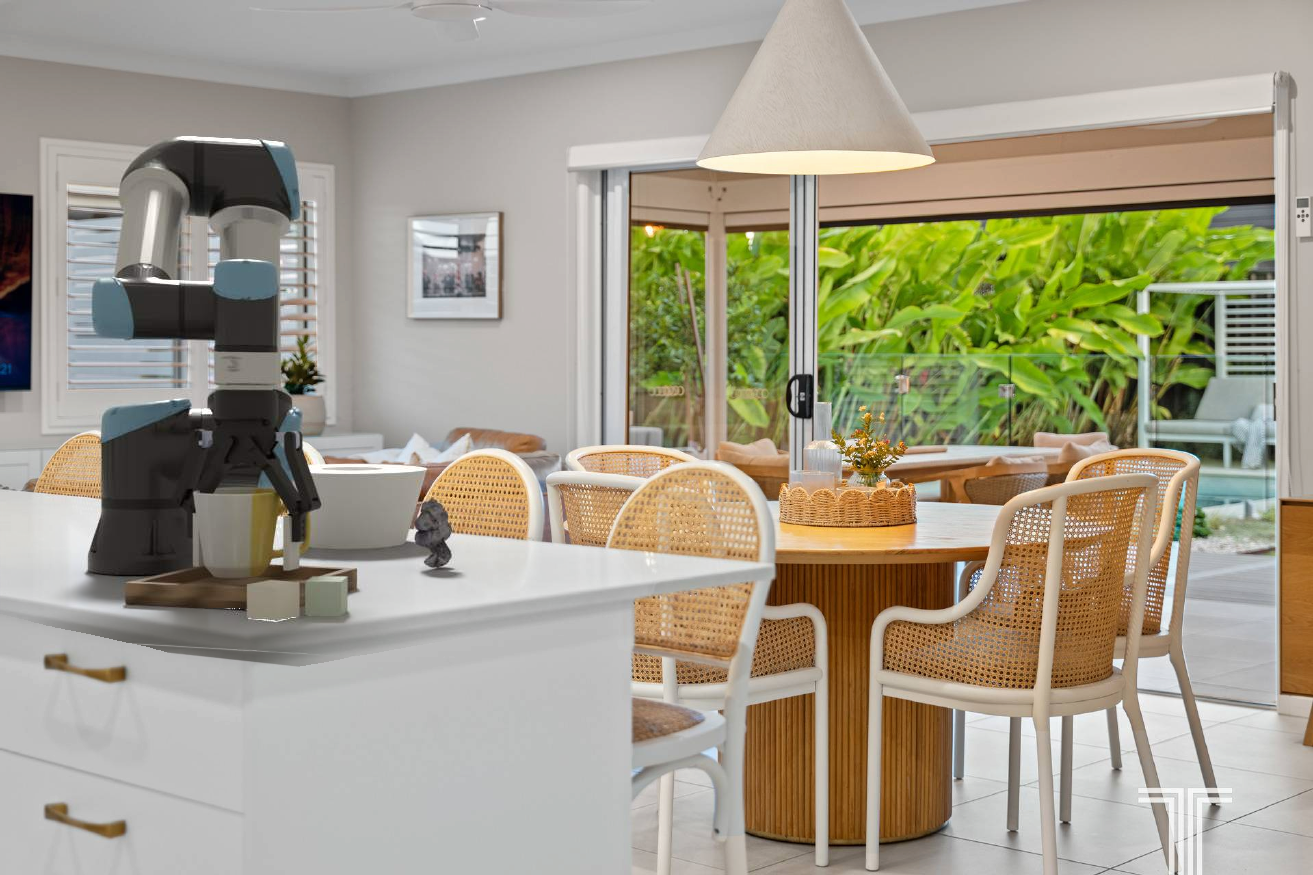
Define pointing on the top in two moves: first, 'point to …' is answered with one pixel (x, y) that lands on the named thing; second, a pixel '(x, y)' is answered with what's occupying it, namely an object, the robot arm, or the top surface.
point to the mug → (240, 530)
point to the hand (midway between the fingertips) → (246, 567)
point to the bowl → (363, 505)
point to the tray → (219, 586)
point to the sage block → (326, 596)
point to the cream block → (273, 600)
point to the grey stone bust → (433, 533)
